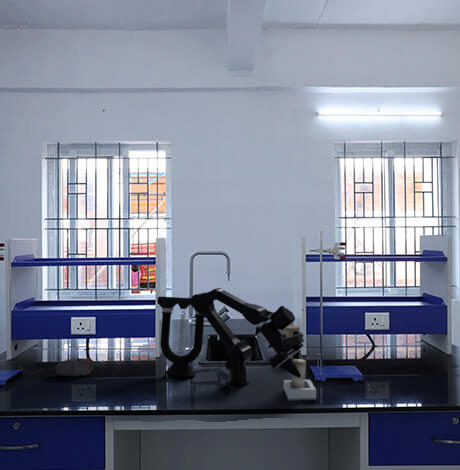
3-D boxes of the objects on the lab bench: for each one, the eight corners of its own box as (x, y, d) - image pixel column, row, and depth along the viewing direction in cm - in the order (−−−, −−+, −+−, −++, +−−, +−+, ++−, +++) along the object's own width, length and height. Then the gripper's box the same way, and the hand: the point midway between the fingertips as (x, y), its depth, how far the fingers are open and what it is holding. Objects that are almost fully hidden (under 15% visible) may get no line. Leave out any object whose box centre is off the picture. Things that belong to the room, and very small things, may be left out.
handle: (284, 359, 183) (284, 325, 183) (299, 359, 183) (298, 325, 183) (286, 363, 179) (285, 328, 179) (301, 362, 178) (300, 328, 178)
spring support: (206, 372, 169) (210, 298, 173) (199, 379, 157) (204, 299, 161) (157, 368, 173) (162, 295, 176) (147, 374, 161) (153, 296, 164)
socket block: (288, 400, 139) (288, 390, 139) (283, 390, 148) (283, 380, 148) (316, 399, 139) (316, 389, 139) (310, 389, 148) (309, 379, 148)
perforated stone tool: (52, 377, 165) (52, 360, 165) (59, 373, 170) (58, 356, 170) (89, 378, 164) (88, 360, 164) (94, 373, 169) (94, 356, 169)
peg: (289, 389, 145) (290, 359, 145) (300, 389, 147) (302, 358, 146) (294, 395, 141) (296, 363, 141) (306, 394, 142) (307, 363, 142)
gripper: (280, 329, 137) (310, 370, 132) (299, 319, 153) (327, 354, 148) (257, 348, 141) (286, 388, 136) (278, 336, 157) (305, 371, 152)
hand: (302, 374), depth 143 cm, fingers closed on peg, 4 cm apart
